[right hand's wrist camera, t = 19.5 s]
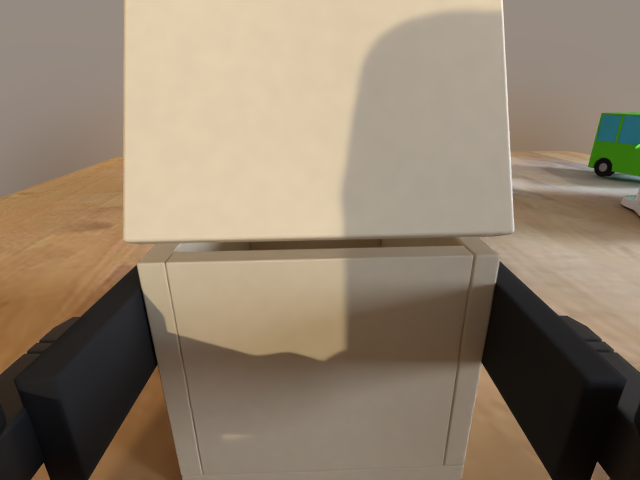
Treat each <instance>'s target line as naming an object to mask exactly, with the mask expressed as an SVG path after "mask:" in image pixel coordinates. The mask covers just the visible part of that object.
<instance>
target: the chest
mask: <svg viewBox="0 0 640 480" xmlns="http://www.w3.org/2000/svg"><path fill="white" fill-rule="evenodd" d="M499 262H500V254H499V253H497V252H496V251H495V250H494V249H493V248H491V247H490V246H489V245H488V244H487V243H485V242H484V241H483V240H482V239H481V238H480V237H439V238H395V239H350V240H306V241H262V242H217V243H173V244H156V245H155V246H154V247H153V248H152V249H151V250H150V251H149V252H148V253H147V254H146V255H145V256H144V257H143V258H142V259H141V260H140V261H139V262H138V263H137V269H138V273H139V278H140V283H141V288H142V292H143V297H144V302H145V307H146V311H147V316H148V321H149V326H150V330H151V335H152V340H153V345H154V349H155V354H156V359H157V364H158V369H159V373H160V378H161V383H162V388H163V392H164V397H165V402H166V407H167V411H168V416H169V421H170V426H171V430H172V435H173V440H174V445H175V449H176V454H177V459H178V464H179V469H180V473H181V477H182V480H461V479H462V473H463V468H464V465H463V464H464V461H465V456H466V450H467V444H468V438H469V433H470V427H471V421H472V416H473V410H474V404H475V399H476V393H477V387H478V382H479V376H480V370H481V365H482V362H481V361H482V356H483V350H484V345H485V340H486V334H487V329H488V324H489V318H490V313H491V308H492V302H493V296H494V291H495V285H496V279H497V273H498V268H499Z"/></svg>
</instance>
